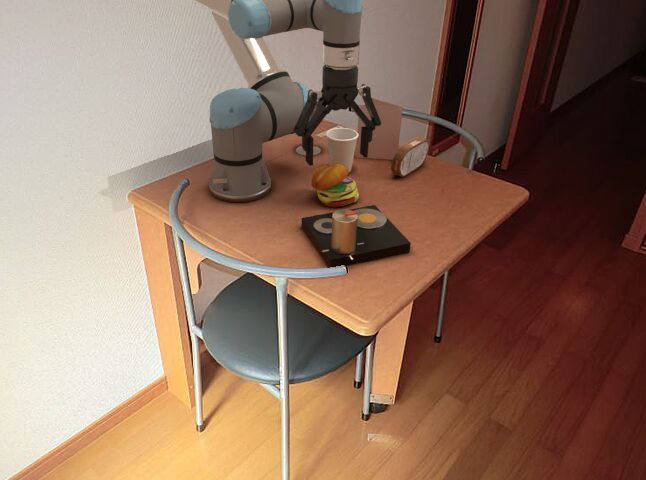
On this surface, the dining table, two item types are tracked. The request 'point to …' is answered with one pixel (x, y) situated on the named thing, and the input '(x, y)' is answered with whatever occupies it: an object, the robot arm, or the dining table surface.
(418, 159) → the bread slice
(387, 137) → the greeting card
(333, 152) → the dixie cup
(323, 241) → the stove
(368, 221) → the burners
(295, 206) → the dining table surface
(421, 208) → the dining table surface
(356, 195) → the cheeseburger
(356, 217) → the stove knob
